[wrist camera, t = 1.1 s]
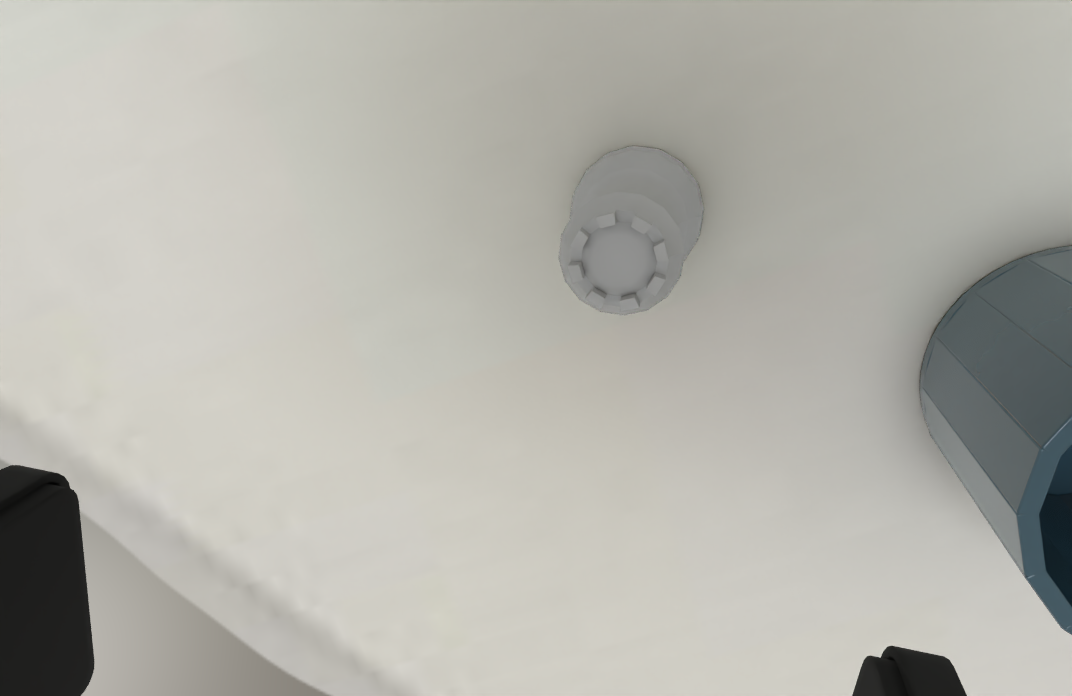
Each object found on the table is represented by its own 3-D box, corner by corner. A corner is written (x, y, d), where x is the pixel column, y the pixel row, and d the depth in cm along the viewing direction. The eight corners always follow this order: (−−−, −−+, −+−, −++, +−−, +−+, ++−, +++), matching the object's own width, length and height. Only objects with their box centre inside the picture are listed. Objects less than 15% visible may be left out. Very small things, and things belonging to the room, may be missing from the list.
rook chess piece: (702, 139, 26) (707, 165, 19) (705, 271, 27) (711, 345, 20) (568, 149, 27) (521, 179, 19) (577, 277, 28) (537, 350, 21)
